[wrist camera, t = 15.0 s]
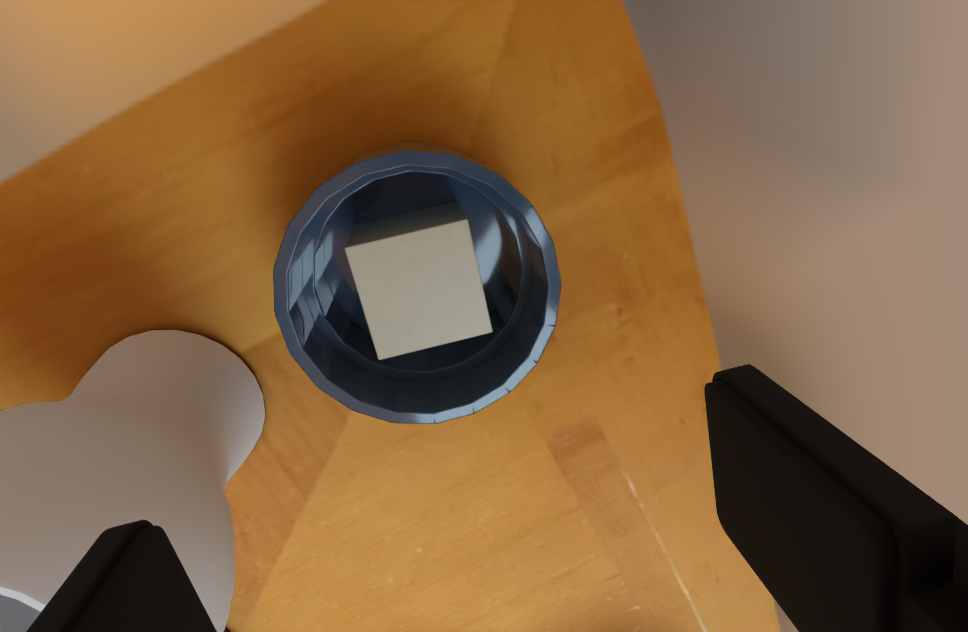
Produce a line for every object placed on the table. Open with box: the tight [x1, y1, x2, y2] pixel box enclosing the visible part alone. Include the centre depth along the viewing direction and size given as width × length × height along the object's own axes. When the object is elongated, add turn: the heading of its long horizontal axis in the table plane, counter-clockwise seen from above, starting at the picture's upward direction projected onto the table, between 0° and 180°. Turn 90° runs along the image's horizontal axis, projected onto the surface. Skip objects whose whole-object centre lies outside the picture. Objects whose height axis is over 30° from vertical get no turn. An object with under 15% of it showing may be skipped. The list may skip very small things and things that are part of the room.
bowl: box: [273, 142, 561, 424], centre depth 23 cm, size 10×10×6 cm
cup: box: [0, 330, 265, 632], centre depth 20 cm, size 11×11×15 cm
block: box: [345, 201, 493, 360], centre depth 23 cm, size 4×4×4 cm
